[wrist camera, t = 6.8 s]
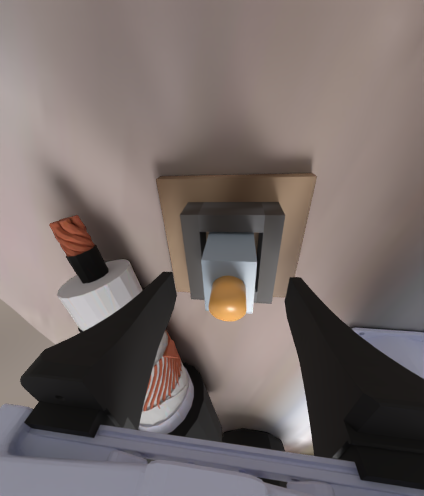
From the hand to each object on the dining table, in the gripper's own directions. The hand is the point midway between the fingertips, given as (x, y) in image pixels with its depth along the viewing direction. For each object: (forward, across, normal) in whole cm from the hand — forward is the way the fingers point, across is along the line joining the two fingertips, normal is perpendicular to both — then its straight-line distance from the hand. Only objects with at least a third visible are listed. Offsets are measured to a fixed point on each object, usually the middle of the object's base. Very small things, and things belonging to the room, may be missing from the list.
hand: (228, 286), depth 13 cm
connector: (+5, 0, 0) cm, 5 cm away
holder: (+6, 0, 0) cm, 6 cm away
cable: (+6, +10, +14) cm, 18 cm away
